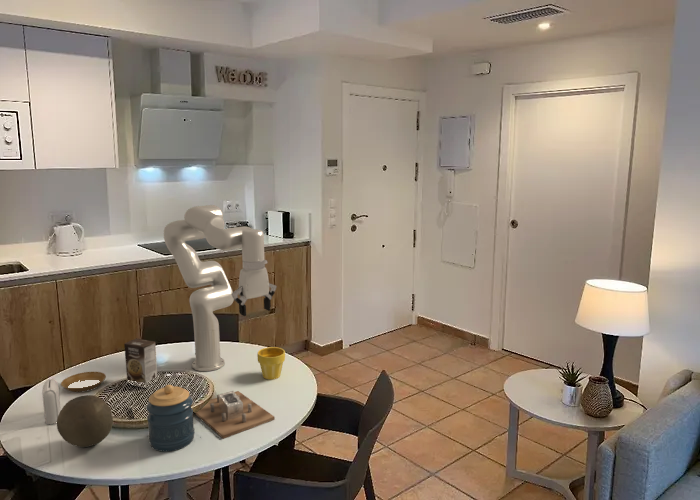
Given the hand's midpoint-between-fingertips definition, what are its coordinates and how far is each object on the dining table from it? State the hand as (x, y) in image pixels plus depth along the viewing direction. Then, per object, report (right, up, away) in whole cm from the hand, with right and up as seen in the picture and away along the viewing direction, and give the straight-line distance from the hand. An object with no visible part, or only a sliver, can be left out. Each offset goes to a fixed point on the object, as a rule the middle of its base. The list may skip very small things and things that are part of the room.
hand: (255, 312), depth 190 cm
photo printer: (-62, -32, -16) cm, 72 cm away
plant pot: (+4, -26, +15) cm, 30 cm away
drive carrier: (-5, -31, -14) cm, 34 cm away
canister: (-20, -35, -30) cm, 50 cm away
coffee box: (-43, -27, +8) cm, 52 cm away
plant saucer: (-64, -28, +7) cm, 70 cm away
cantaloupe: (-43, -35, -33) cm, 65 cm away
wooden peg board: (-5, -32, -14) cm, 35 cm away
